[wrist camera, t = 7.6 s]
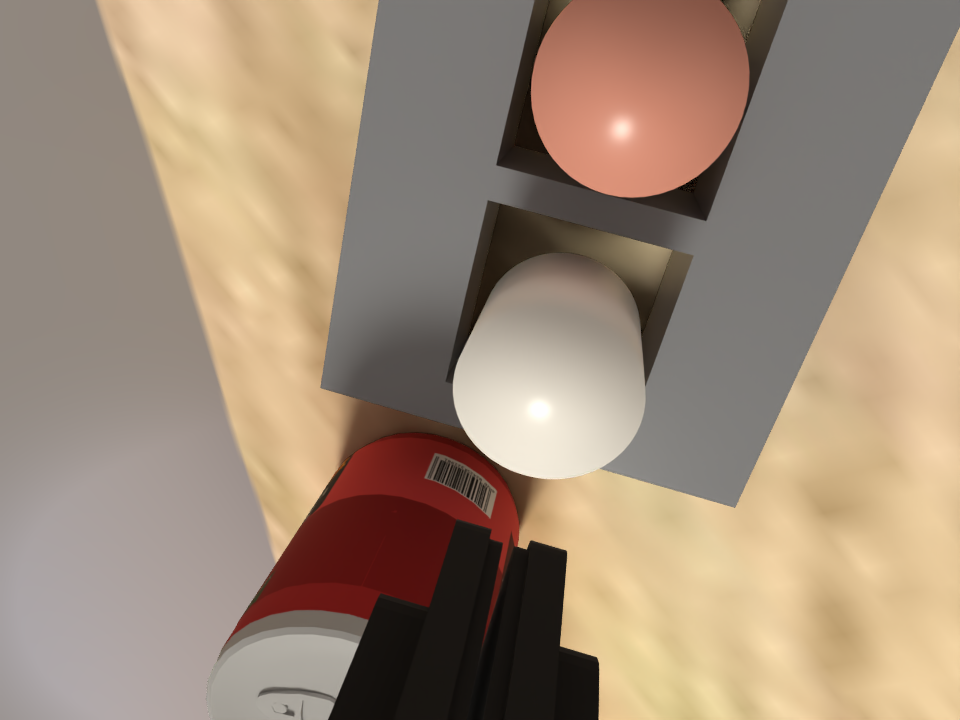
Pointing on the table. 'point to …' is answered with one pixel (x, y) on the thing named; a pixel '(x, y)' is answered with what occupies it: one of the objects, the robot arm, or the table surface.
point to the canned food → (355, 572)
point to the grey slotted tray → (627, 214)
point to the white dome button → (553, 369)
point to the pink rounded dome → (639, 91)
